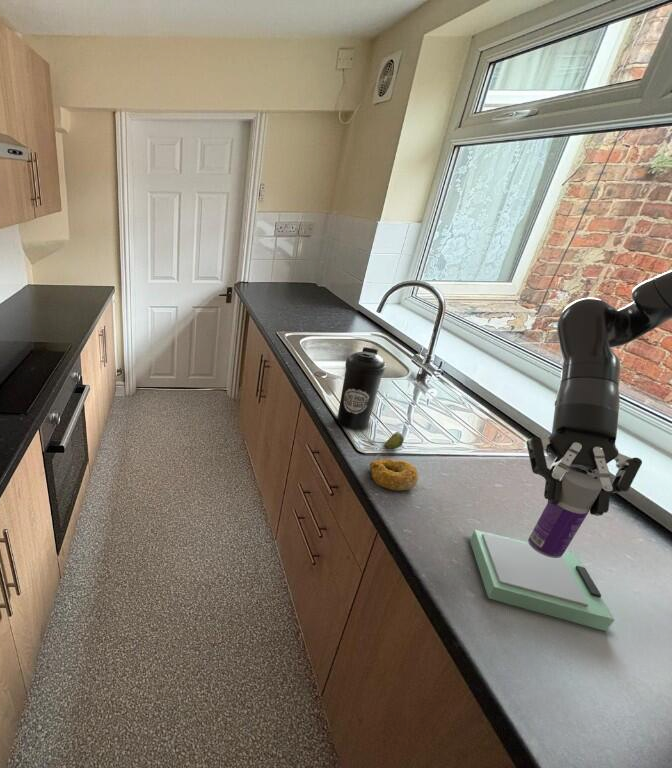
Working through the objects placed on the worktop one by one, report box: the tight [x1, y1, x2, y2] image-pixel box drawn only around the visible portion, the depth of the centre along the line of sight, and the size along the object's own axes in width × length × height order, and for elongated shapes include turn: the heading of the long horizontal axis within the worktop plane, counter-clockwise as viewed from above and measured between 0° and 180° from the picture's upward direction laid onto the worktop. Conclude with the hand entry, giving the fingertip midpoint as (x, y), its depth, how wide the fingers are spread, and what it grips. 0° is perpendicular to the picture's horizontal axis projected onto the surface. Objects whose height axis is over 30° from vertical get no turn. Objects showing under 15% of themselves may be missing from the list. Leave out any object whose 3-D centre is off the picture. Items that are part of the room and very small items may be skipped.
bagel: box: [369, 458, 419, 491], centre depth 100 cm, size 10×11×5 cm
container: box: [527, 470, 602, 558], centre depth 69 cm, size 5×5×15 cm
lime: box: [384, 431, 405, 450], centre depth 112 cm, size 4×5×5 cm
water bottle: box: [336, 346, 387, 431], centre depth 120 cm, size 10×10×23 cm
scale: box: [469, 529, 615, 632], centre depth 75 cm, size 16×14×4 cm
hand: (574, 508), depth 66 cm, fingers closed on container, 4 cm apart
